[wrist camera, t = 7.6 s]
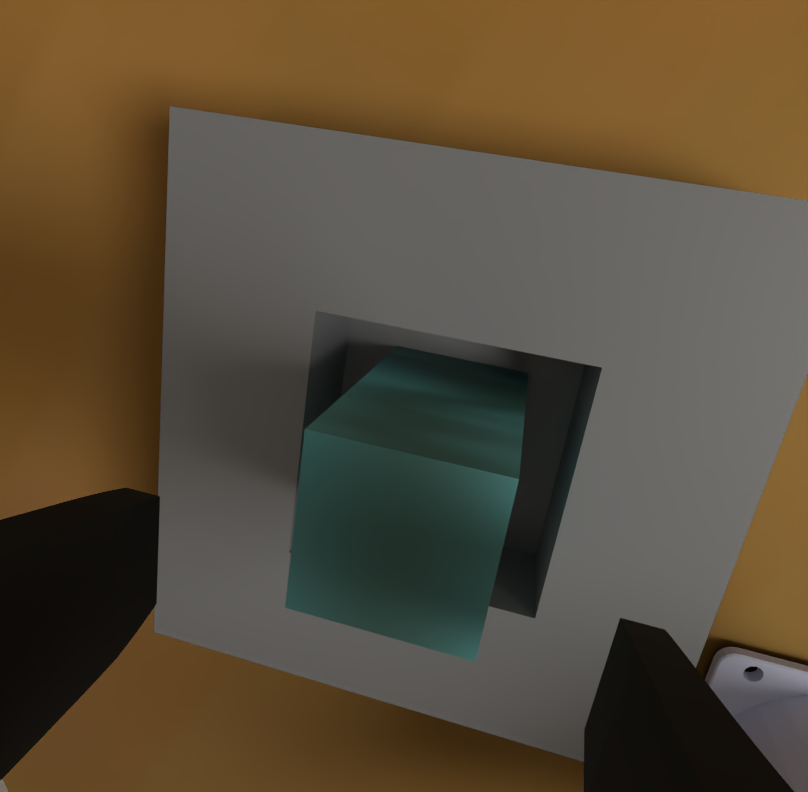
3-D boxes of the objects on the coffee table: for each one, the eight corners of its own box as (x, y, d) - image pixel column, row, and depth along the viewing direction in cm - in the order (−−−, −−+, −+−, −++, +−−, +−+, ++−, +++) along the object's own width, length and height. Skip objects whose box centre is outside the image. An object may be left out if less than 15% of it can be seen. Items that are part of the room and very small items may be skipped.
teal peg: (528, 372, 16) (519, 479, 10) (500, 492, 17) (475, 662, 11) (398, 346, 17) (304, 428, 10) (379, 464, 18) (284, 607, 11)
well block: (785, 212, 15) (869, 210, 11) (630, 671, 19) (652, 782, 15) (252, 130, 17) (169, 105, 13) (222, 558, 21) (154, 632, 18)
